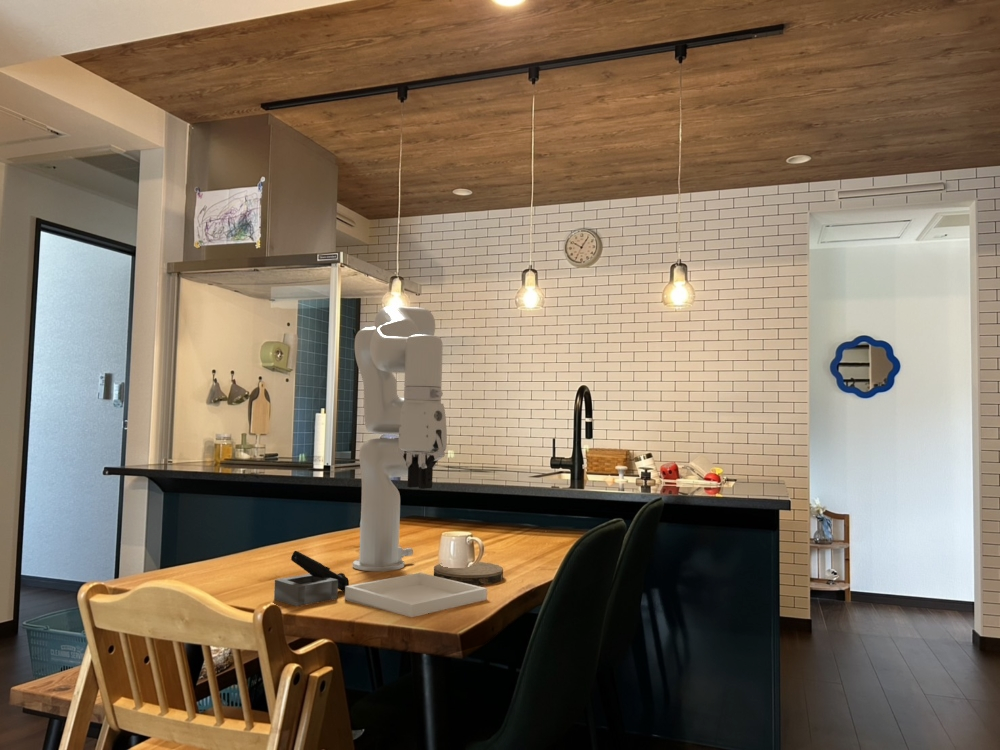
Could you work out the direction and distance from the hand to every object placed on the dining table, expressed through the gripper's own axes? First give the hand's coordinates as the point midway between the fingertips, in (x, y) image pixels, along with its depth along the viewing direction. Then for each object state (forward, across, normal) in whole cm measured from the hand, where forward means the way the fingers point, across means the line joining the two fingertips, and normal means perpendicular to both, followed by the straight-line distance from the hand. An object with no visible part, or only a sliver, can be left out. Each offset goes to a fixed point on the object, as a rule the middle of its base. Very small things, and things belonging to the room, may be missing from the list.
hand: (419, 486), depth 154 cm
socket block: (+23, +16, +15) cm, 32 cm away
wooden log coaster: (+23, +8, -23) cm, 34 cm away
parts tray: (+23, 0, 0) cm, 23 cm away
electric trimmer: (+15, +17, +19) cm, 30 cm away
